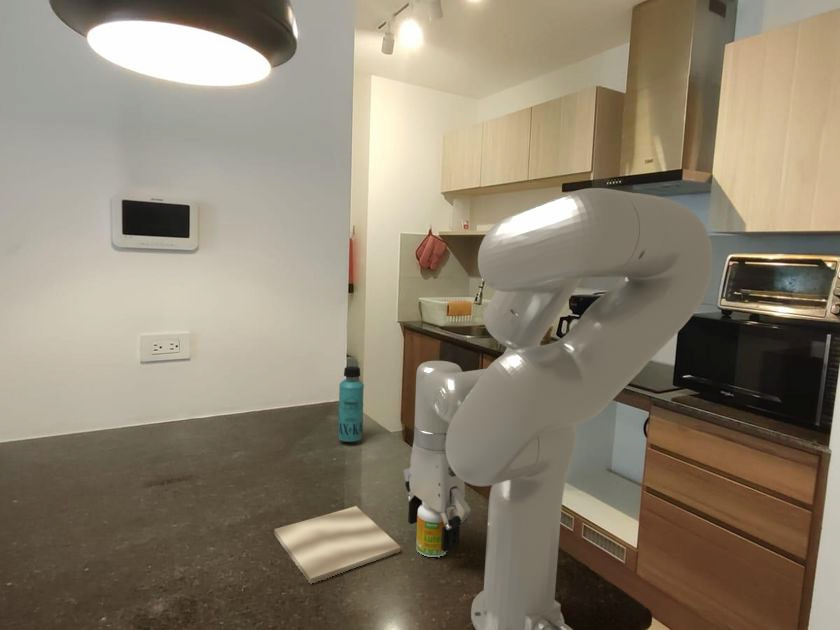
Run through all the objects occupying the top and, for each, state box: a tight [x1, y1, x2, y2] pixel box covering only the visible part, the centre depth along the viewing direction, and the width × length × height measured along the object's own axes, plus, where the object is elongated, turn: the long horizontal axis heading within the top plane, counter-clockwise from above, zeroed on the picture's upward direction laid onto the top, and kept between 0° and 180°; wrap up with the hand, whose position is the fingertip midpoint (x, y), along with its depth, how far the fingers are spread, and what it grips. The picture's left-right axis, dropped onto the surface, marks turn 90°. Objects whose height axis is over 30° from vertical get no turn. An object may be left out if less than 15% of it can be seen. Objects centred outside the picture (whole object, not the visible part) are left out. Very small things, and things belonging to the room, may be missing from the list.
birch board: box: [273, 505, 402, 585], centre depth 88 cm, size 16×16×1 cm
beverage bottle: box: [337, 366, 365, 442], centre depth 133 cm, size 6×7×20 cm
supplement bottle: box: [415, 501, 450, 558], centre depth 87 cm, size 5×5×10 cm
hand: (432, 534), depth 87 cm, fingers open, 9 cm apart
